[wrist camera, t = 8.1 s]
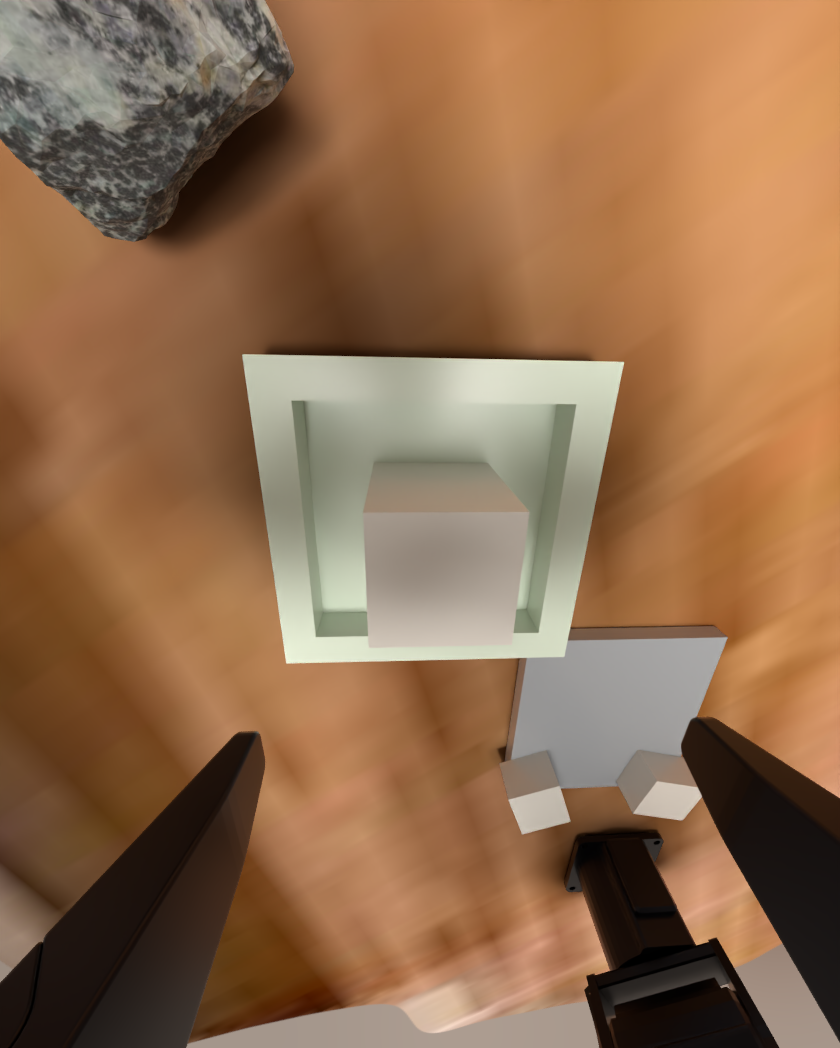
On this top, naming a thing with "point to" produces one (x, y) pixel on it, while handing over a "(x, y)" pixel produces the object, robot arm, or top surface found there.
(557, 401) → the bin
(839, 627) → the top surface
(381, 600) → the large white cube
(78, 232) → the top surface
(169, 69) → the stone
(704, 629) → the slate board
